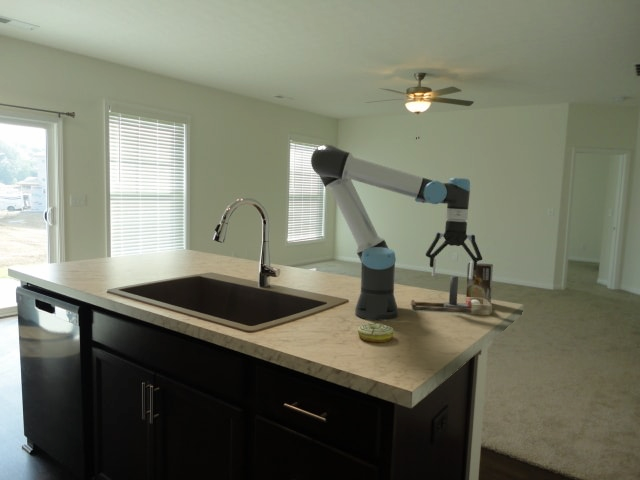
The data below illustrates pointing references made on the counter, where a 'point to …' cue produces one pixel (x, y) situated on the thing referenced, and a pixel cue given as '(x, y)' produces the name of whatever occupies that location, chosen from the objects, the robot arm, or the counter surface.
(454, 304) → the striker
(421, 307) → the rail
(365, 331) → the decorated donut
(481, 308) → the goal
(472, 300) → the ball
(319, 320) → the counter surface
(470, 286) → the coffee box
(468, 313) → the pitch mat
